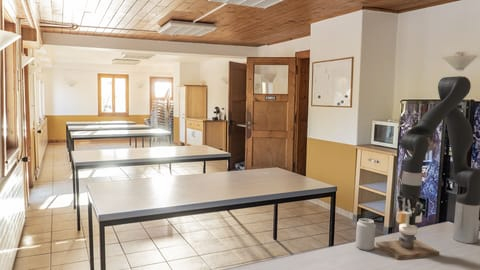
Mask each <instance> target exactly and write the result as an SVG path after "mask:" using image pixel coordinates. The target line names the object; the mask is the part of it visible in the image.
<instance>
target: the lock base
mask: <svg viewBox="0 0 480 270" xmlns="http://www.w3.org/2000/svg"><path fill="white" fill-rule="evenodd" d="M375 246H376V247H377V248H379V249H380V250H382V251H384V252H385V253H386V254H387V255H389V256H391V257H393V258H394V259H396V260H403V259H414V258H426V257H434V256H440V251H439V250H437V249H435V248H434V247H431V246H429V245H428V244H425V243H424V242H422V241H420V240H418V239H417V236H416V235H406V234H402V233H400V237H399V236H398V240H388V241H385V240H384V241H376V242H375Z"/></svg>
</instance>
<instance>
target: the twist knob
mask: <svg viewBox="0 0 480 270" xmlns="http://www.w3.org/2000/svg"><path fill="white" fill-rule="evenodd" d="M413 213H414V211H413ZM417 213H418V212H417ZM409 217H410V211H403V212H402V210H399V211H396V217H395V221H396V222H397V223H398V224H399V226H398V232H399V233H400V234H401V233H402V234H406V235H414V236H416V235H418V229H419V228H418V225H416V223H422V221H423V211H422V212H421V214H420V216H416V218H415V224H414V225H409Z"/></svg>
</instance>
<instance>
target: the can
mask: <svg viewBox="0 0 480 270" xmlns="http://www.w3.org/2000/svg"><path fill="white" fill-rule="evenodd" d="M376 227H377V225H376V224H375V221H374V219H371V218H367V217H362V218H359V219H358V221H357V222H356V232H355V246H356V247H357V249H358V250H361V249H362V250H361V251H372V250H373V249H374V248H375V243H376V242H375V240H376V239H375V238H376Z"/></svg>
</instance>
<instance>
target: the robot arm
mask: <svg viewBox="0 0 480 270" xmlns="http://www.w3.org/2000/svg"><path fill="white" fill-rule="evenodd" d="M471 88H472V86H471V81H470V79H469V78H468V77H466V76H461V75H460V76H459V75H457V76H446V77H442V78H441V79H439V82H438V84H437V93H438V96H439V100H440V101H439V103H436V104H435V105H433V106H432V107H431V108H429V109H428V110H427V111H426V112H425V113H424V114H423V115H422V117H421V118H420V120H419V121H418V122H417V123H416V124H415V125H414V126H412V127H411V128H410V129H408V130H407V131H406V132H405V133H404V134H403V136H402V137H401V141H400V145H401V148H402V149H403V150H405V151H410V152H413V153H412V156H406V157H405V158H404V160H403V168H402V169H403V170H402V175H401V185H400V186H401V187H400V192H401V194H402V195H398V196H397V197H396V198H397V203H398V208H399V211H401V212H403V211H410V217H409V225H416V223H415V218H416V216H420V214H421V212H422V213H423V210H424V209H425V208H424V207H425V204H424V203H422V202H420V196H421V195H422V188H423V187H422V186H423V163H424V160H425V158H426V155H427V152H428V150H429V147H430V143H429V139H428V137H429V136H432V135H433V134H434V133H435V131H436V130H437V128H438V127H439V125H440V124H441V123H442V121H443V120H444V119H445V123H446V130H447V134H448V141H449V145H450V151H451V152H450V153H451V159H452V160H451V161H452V173H453V181H454V183H455V184H457V186H459V187H463V188H466V192H465V193H460V194H457V195H456V197H455V198H456V199H455V210H454V212H455V213H454V222H453V223H454V224H453V230H452V231H453V232H452V239H454V240H455V241H457V242H461V243H465V244H476V243H478V242H479V236H480V220H479V217H480V169H478V168H476V167H475V168H473V167H470V166H468V163H467V155H468V152H469V151H470V148H471V147H472V144H473V142H474V135H473V128H472V125H471V123H470V121H469V120H468V118H466V116H465V114H463V112H462V111H461V110H460V108H459V107H458V105H459V103H461V102H463V100H464V99H465V98H466V97H467V96H468V94H469V93H470V91H471ZM413 211H414V213H413ZM417 212H418V213H417Z"/></svg>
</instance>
